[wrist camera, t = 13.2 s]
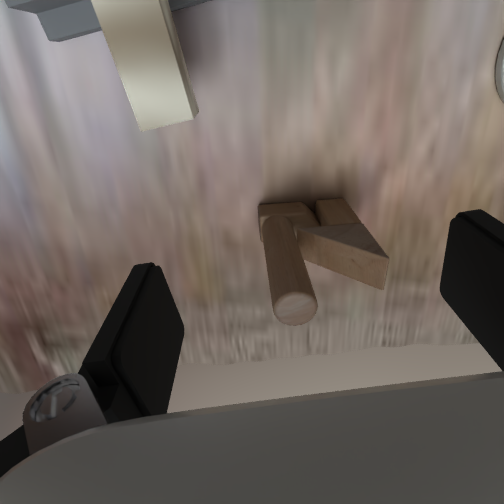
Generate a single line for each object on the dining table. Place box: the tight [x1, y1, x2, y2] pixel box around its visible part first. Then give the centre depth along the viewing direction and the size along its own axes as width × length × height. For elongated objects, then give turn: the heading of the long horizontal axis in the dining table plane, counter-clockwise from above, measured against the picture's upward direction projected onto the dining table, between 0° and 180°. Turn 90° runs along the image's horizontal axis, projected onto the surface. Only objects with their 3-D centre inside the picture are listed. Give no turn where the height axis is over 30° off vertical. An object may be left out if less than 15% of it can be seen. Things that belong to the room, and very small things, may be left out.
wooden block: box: [258, 198, 389, 326], centre depth 33 cm, size 4×11×18 cm, turn 94°
